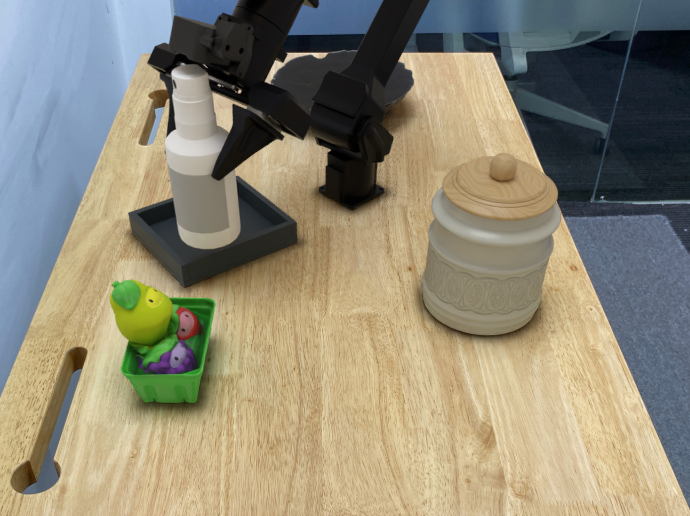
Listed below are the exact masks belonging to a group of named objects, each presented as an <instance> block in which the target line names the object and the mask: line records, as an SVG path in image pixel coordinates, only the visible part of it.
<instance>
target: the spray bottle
mask: <svg viewBox="0 0 690 516" xmlns="http://www.w3.org/2000/svg"><path fill="white" fill-rule="evenodd" d="M171 75H172V82H173V95H172V98H173V105H174V112H175V117H174V118H175V124H176V130H174V131H172V132H171V133H170V134H169V135H168V137H167V138H166V137H165V141H164V153H165V152H166V154H165V157H166V164H167V169H168V174H169V181H170V188H171V194H172V198H173V201H174V207H175V213H176V219H177V225H178V231H179V235H180V237H181V239H182V240H183V241H184V242H185V243H186V244H187V245H189V246H192V247H194V248H200V249H215V248H219V247H223V246H225V245H228V244H230V243H231V242H233V241H234V240H235V239H236V238H237V237H238V235H239V233H240V227H241V226H240V215H239V205H238V194H237V184H236V176H237V174H236V168H235V169H234V170H233V171H232V172H230V173H229V174H228V175H227V176H225V177H224V178H223V179H221V180H220V181H217V180H215V179H214V178H212V177H211V174H212V171H213V169H214V166H215V163H216V160H217V158H218V156H219V154H220V152H221V149H222V147H223V145H224V143H225V141H226V139H227V136H228V134H229V132H230V131H228V130H227V129H225V128H224V127H222V126H220V125H218V123H217V122H218V121H217V114H216V112H215V103H214V95H213V94H214V93H213V92H212V91H211V89H210V86H209V79H208V73H207V72H206V71H205V70H204V69H202V68H201V67H200V66H199V65H195V64H188V65H182V66H179V67H177V68H175V69H174V70H173V71H172V73H171Z"/></svg>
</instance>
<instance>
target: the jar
mask: <svg viewBox="0 0 690 516" xmlns="http://www.w3.org/2000/svg"><path fill="white" fill-rule="evenodd" d="M558 197H559V190H558V188H557V186H556V183H555V182H554V181H553V179H551V178H550V177H549V176H547V174H545V173H544V172H542V171H541V170H540V169H539V168H537V167H536V166H534V165H533V164H531V163H529V162H527V161H524V160H521V159H518V158H516V157H515V156H514V155H513V154H511V153H509V152H500V153H498V154H495V155H488V156H480V157H476V158H473V159H471V160H468V161H466V162H463V163H460V164H458V165H456V166H454V167H452V168H451V169H449V171H447V172H446V174H445V175H444V177H443V179H442V182H441V187H440V188H439V189H438V190H437V191H436V192H435V193H434V194H433V197H432V199H431V203H430V207H431V213H432V215H433V217H434V218H433V219H432V220H431V222H430V224H429V225H428V231H427V237H428V243H427V251H426V259H425V260H426V261H425V269H424V270H423V273H422V277H421V278H422V280H421V291H422V298H423V304H424V306H425V307H426V309H427V311H428V312H429V313H430V314H431V315H432V317H434V318H435V319H436V320H437V321H439V322H440V323H442V324H443V325H445V326H447V327H449V328H451V329H453V330H456V331H458V332H459V331H460V332H463V333H467V334H472V335H477V336H479V335H480V336H497V335H505V334H508V333H512V332H514V331H517V330H519V329H521V328H523V327H524V326H526V325H527V324H528V323H529V322H530V321H531V320H532V319H533V317H534V315H535V313H536V311H537V310H538V308H539V306H540V303H541V299H542V295H543V285H544V281H545V277H546V273H547V269H548V265H549V260H550V257H551V256H552V254H553V252H554V248H555V240H554V237H553V234H554V233H555V232H556V231H557V229H558V228H559V227H560V224H561V222H562V211H561V207H560V206H559V204H558V201H557V200H558Z"/></svg>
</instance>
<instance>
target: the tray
mask: <svg viewBox="0 0 690 516" xmlns="http://www.w3.org/2000/svg"><path fill="white" fill-rule="evenodd" d="M236 184H237V194H238V205H239V215H240V226H241V227H240V233H239V235H238V237H237V238H236V239H235V240H234V241H233V242H231V243H230V244H228V245H225V246H223V247H219V248H215V249H200V248H194V247H192V246H189V245H187V244H186V243H185V242H184V241H183V240H182V239H181V237H180V235H179V231H178V225H177V219H176V213H175V207H174V201H173V197H170V198H167V199H164V200H161V201H158V202H155V203H152V204H150V205H147V206H144V207H141V208H138V209H134V210H132V211H128V212H127V214H128V215H127V216H128V220H129V221H128V222H129V225H130V230H131V231H130V232H131V235H133V237H135V238H136V239H137V240H138V242H140V243H141V244H142V245H143V247H144V248H146V250H147V251H148V252H149V253H150V254H151V255H152V256H153V257H154V258H155V259H156V260H157V261H158V262H159V263H160V264H161V266H163V267H164V269H166V270H167V271H168V272H169V273H170V274H171V276H173V278H174V279H175V280H176V281H177V282H178V283H179V284H180V285H181V286H182V287H183V288H187V287H190V286H192V285H195V284H197V283H200V282H203V281H205V280H208V279H210V278H212V277H215V276H217V275H220V274H222V273H225V272H228V271H230V270H233V269H235V268H237V267H240V266H242V265H245V264H248V263H250V262H252V261H255V260H257V259H260V258H263V257H265V256H268V255H270V254H273V253H275V252H277V251H280V250H283V249H285V248H289V247H291V246H293V245H295V244H298V222H297V220H295V219H294V218H292V217H291V216H290V215H289V214H287V212H285V211H284V210H283V209H281V208H280V207H279V206H277V205H276V204H275V203H274V202H273V201H271V200H270V199H269V198H267V197H266V196H265V195H264V194H263V193H261V192H260V191H258V190H257V189H256V188H254V187H253V186H252V185H251V184H249V183H248V182H247V181H246V180H244V178H242V177H241V176H240V175H236Z"/></svg>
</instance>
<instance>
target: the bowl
mask: <svg viewBox="0 0 690 516" xmlns="http://www.w3.org/2000/svg"><path fill="white" fill-rule="evenodd" d="M357 50H358V49H357ZM357 50H356V49H355V50H354V49H352V50H346V49H343V50H338V51H331V52H327V53H326V55H325V56H323V57H321V58H319V57H317V56H314V55H313V54H305V55H301V56H296V57H294V58H290V59H289V60H288V61H286V62H284V64H283V66H281V67H280V68H278V69H277V70H276V72H275V73H274V74H273V76H272V78H271V80H270V81H269V84H272V85H275V86H277V87H280V88H282V89H285V90H287V91H289V92H290V93H291V94H292V95H293V96H294V97H295V98H297V99H298V100H299V101H300V102H301V103H302V104H303V105H304V106H306V107H307V108H308V109H309V110H310V109H311V107H312V104H313V103H314V101H312V98H313V97H314V95H315V94H316V93H317V91H318V90H319V88H320V86H321V83H322V81H323V78H324V76H325V75H326V74H327V72H328V71H329V70H332V71H335V72H337V73H340V72H341V71H343V70H344V69H346V68H347V67H349V65H350V64H351V62H352V60H353V58H354V56H355V54H356V52H357ZM414 84H415V78H414V77H413V70H412V69H408V68H406V64H405V63H404V62H401V61H400V60H399V61H398V63H397V65H396V67H395V68H394V70H393V72H392V74H391V76H390V78H389V80H388V82H387V84H386V86H385V109H386V113H388V112H389V111H390V110H391V109H392V108H393V107H394V106H396V105H398V103H400V102H401V101H402V100H404V98H405V97H406V95H408V94H409V92H410V91H412V88H413V87H414V86H415V85H414Z"/></svg>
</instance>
